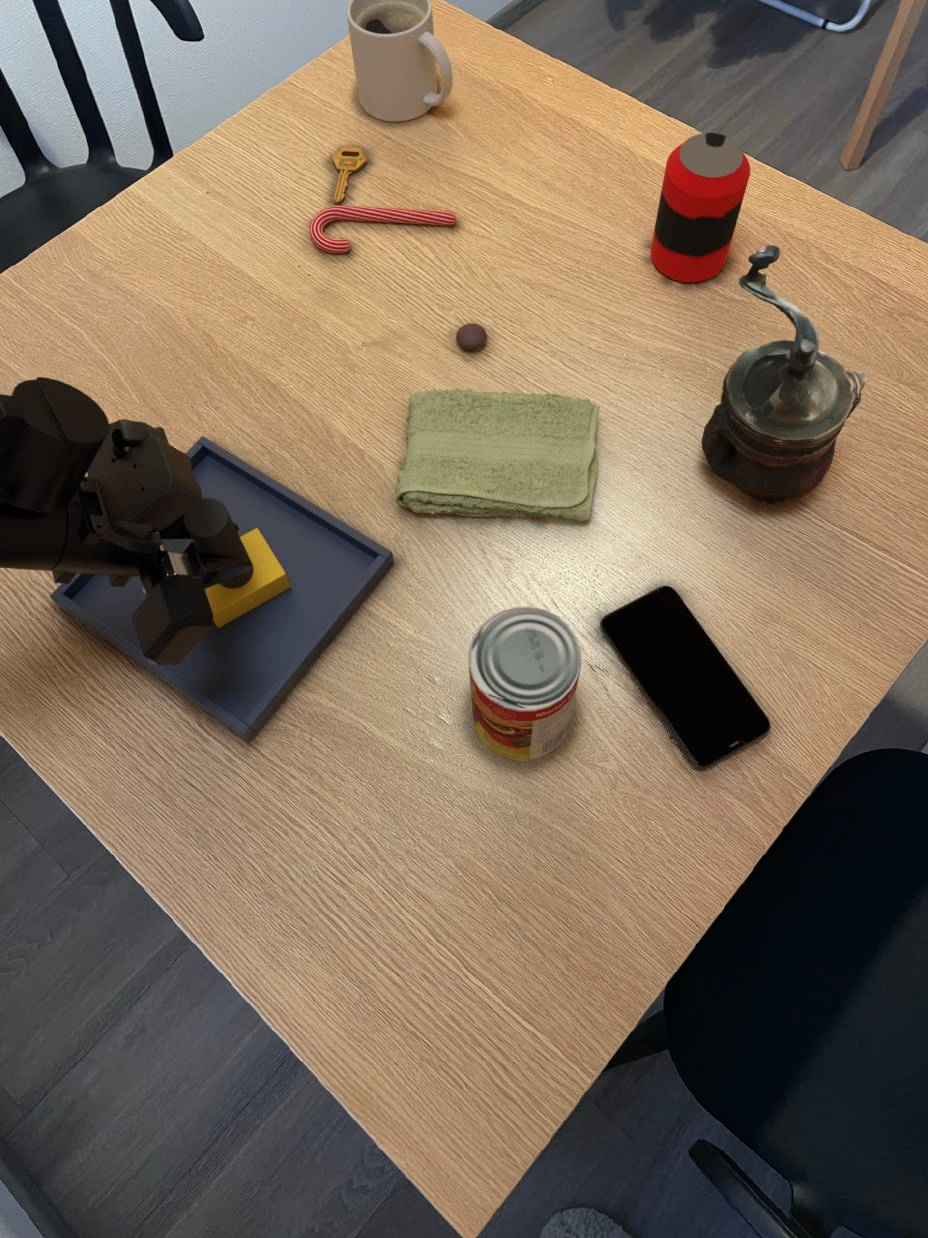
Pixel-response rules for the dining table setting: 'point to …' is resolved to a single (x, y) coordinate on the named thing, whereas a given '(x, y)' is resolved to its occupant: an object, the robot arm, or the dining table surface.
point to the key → (347, 168)
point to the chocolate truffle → (471, 336)
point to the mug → (397, 58)
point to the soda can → (699, 207)
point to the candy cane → (370, 215)
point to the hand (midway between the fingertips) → (243, 548)
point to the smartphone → (684, 677)
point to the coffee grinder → (779, 406)
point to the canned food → (523, 681)
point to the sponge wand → (222, 538)
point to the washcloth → (499, 454)
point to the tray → (268, 634)
